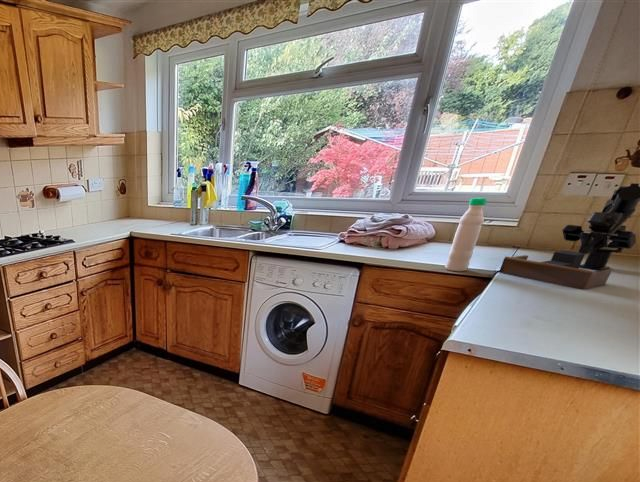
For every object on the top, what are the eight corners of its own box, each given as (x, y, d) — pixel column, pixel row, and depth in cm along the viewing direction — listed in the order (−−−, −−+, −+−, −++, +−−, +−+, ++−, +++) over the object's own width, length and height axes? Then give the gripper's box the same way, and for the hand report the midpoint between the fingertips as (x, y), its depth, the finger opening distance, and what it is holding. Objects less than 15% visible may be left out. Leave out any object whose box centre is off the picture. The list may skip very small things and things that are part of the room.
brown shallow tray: (519, 268, 162) (525, 253, 159) (604, 284, 141) (613, 267, 138) (498, 272, 158) (504, 256, 155) (583, 289, 137) (591, 271, 135)
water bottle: (460, 272, 159) (484, 199, 147) (440, 269, 164) (462, 198, 153) (470, 270, 162) (495, 198, 150) (451, 266, 167) (473, 196, 155)
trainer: (553, 273, 155) (563, 250, 151) (574, 277, 149) (585, 253, 146) (529, 277, 151) (539, 254, 147) (551, 281, 145) (561, 257, 142)
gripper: (578, 200, 152) (544, 235, 154) (649, 205, 136) (610, 244, 138) (581, 222, 158) (549, 256, 160) (650, 229, 142) (613, 266, 144)
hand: (578, 255), depth 150 cm, fingers closed
